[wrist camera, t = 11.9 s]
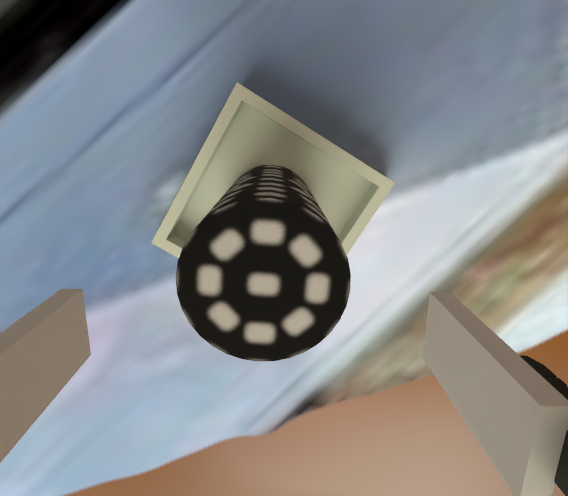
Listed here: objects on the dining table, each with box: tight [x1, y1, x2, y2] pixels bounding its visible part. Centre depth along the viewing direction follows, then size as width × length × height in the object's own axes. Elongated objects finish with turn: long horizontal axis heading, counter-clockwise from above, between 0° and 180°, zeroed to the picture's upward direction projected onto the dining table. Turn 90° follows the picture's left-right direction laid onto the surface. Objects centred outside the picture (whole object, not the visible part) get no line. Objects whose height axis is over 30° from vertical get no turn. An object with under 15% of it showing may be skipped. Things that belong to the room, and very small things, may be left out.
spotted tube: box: [176, 165, 351, 361], centre depth 29 cm, size 8×8×20 cm
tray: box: [152, 83, 395, 258], centre depth 37 cm, size 16×16×3 cm
